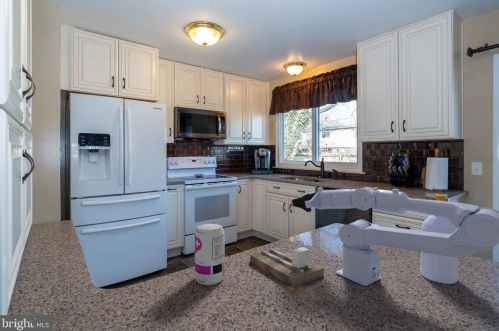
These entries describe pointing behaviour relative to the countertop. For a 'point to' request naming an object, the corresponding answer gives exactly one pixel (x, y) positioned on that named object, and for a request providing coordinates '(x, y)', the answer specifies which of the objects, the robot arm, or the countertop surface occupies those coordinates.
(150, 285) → the countertop surface
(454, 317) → the countertop surface
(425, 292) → the countertop surface
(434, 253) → the robot arm
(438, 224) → the soap bottle
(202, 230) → the supplement can
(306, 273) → the tan slider track board
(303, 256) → the block
